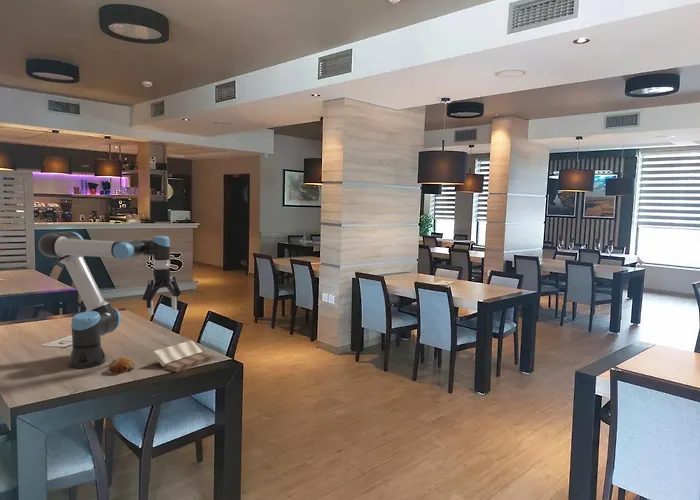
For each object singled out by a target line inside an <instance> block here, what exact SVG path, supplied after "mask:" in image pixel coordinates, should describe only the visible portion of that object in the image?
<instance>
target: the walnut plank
mask: <svg viewBox="0 0 700 500" xmlns="http://www.w3.org/2000/svg"><path fill="white" fill-rule="evenodd" d="M214 358H215V354H211V353H207V352H202V353H200V354H197V355H193V356H190V357H187V358H184V359H181V360H178V361H175V362H172V363H169V364H166V365H165V367H164V368H165V370H166V369H167V370H168V371H169V370H171V371H170V372H175V373H179V372H181V371H182V370H183V371H185V370H188V369H189V368H190V369H191V368H194V367H196V366H195V365H197V366H199V365H202V364H205V362H206V363H207V362H208V361H210V362H211V361H214V360H215V359H214ZM198 364H199V365H198ZM193 366H194V367H193ZM178 371H179V372H178Z"/></svg>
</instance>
